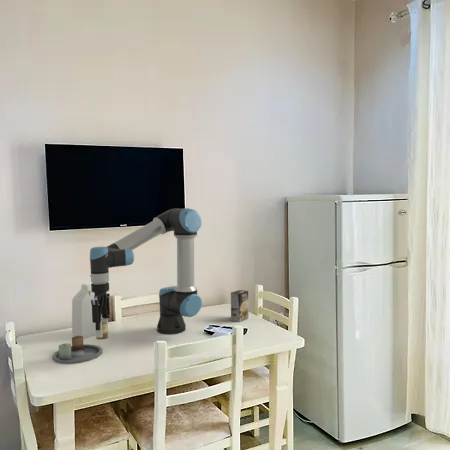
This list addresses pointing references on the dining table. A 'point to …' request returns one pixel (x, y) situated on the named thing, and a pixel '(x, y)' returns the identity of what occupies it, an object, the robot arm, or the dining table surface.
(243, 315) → the coffee box
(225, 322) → the dining table surface
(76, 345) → the bead
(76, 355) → the tray
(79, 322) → the milk
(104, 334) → the bead
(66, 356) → the bead
